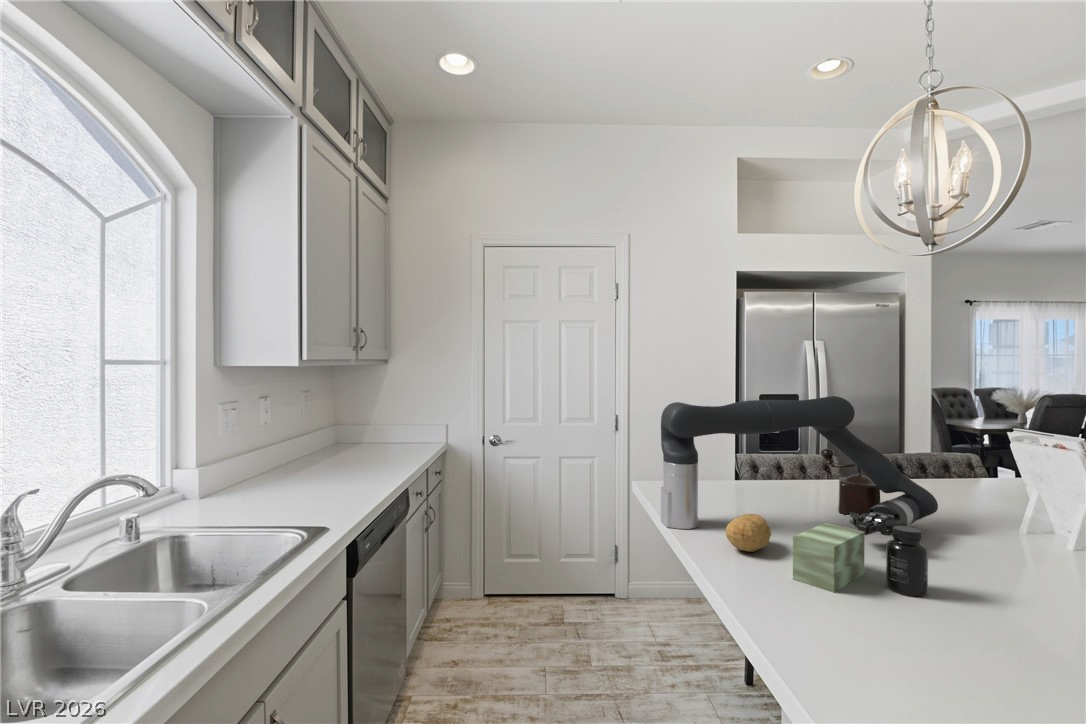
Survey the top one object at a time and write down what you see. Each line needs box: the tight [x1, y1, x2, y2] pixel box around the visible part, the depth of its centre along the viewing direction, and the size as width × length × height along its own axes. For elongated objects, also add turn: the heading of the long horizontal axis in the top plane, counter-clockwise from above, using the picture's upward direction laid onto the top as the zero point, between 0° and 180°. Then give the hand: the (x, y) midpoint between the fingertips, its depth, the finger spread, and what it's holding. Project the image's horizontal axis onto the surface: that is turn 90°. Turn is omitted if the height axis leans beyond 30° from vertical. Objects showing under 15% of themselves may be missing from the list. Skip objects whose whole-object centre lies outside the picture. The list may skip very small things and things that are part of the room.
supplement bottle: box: [885, 526, 929, 597], centre depth 106 cm, size 7×7×12 cm
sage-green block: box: [792, 522, 866, 593], centre depth 112 cm, size 15×8×9 cm, turn 129°
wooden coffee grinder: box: [819, 447, 881, 516], centre depth 162 cm, size 16×11×18 cm
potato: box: [725, 513, 772, 553], centre depth 129 cm, size 10×14×8 cm
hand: (862, 530), depth 123 cm, fingers closed
